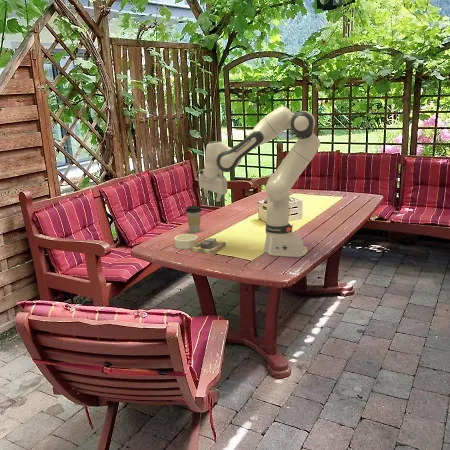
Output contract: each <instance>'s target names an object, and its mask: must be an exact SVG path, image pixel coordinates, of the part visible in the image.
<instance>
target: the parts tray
mask: <svg viewBox="0 0 450 450" xmlns="http://www.w3.org/2000/svg"><path fill="white" fill-rule="evenodd" d="M206 240H207V239H203V240H201V241H199V242H198V243H197V244H196V245H194V246H193V247H191V249H190V252H194V253H201V254H208V255H215V254H216V253H218V252H219V251H221V250H222V249H223V248H225V247H227V243H226V242H225V241H220V240H219V241H218V240H216V247H214V248H211V250H210V249H203V248H201V246H200V244H201V243H202V242H204V241H206Z"/></svg>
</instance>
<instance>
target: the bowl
mask: <svg viewBox="0 0 450 450" xmlns="http://www.w3.org/2000/svg"><path fill="white" fill-rule="evenodd" d="M197 243H199V242H198V235H196V234H195V233H182V234H177V235H175V236H174V248H176V249H178V250H191V247H193V246H194V245H196V244H197Z"/></svg>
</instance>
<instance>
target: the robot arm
mask: <svg viewBox="0 0 450 450" xmlns="http://www.w3.org/2000/svg"><path fill="white" fill-rule="evenodd" d="M315 127H316V119H315V117H314V115H313V114H312V113H311V112H309V111H306V110H301V111H298V112H294V113H293V111H291V109H290V108H288V107H286V106H280V107H278V108H276V109H274V110H272V111H271V112H270V113H268V114H266V115H265V116H264V117H262V119H261V120H260V121H259V122H257V124H256V125H255V126H254V128H253V129H252V130H251V132H249V134H248V135H247V136H246V137H245V138H243V140H241V141H240V142H239V143H238V144H236V145H235V146H234V147H230V146H229V145H226V144H225V143H224V142H223V141H221V140H214V141H210V142H208V143H207V144H206V148H205V155H204V156H205V158H204V160H205V165H204V168H203V169H200V170H198V174H199V175H198V186H199V188H201V189H203V192H204V197H205V198H207V199H208V198H210V194H209V192H212V193H216V196H217V197H215V202H216V203H217V202H218V203H219V202H221V198H222V196H223V195H226V194H228V181H227V178H226V177H225V175H223V173H231V172H232V171H234V170H235V169H236V167H239V165H240V164H241V162H242V159H243V158H244V157H245V156H246V155H247V154H249V153H250V152H251V151H252V150H253V149H256V148H258V147H260V146H261V145H264V144H266V143H268V142H270V141H272V140H274V139H275V138H277V137H278V136H279V135H281V134H282V133H283V132H285V131H286V130H289V129H291V130H292V131H293V133H294V134H295V135H296V137H297V139H296V142H295V144H294V145H293V146H292V147H291V148H290V150H289V152H288V153H287V154H286V156H285V157H284V159H283V160H282V161H281V163H280V164H279V165H278V167H277V168H276V169H275V171H274V173H273V174H272V175H270V176H269V178H268V180H267V181H266V185H265V192H266V195H267V196H266V223H265V234H266V235H265V242H264V247H263V251H264V252H265V253H267V254H268V255H269V256H275V257H291V258H301V257H303V256H305V255H307V254H308V251H309V249H308V247H307V246H304V240H303V239H302V237H300V235H298V234H296V233H295V231H293V227H294V225H293V224H292V225H291V224H290V223H289V217H290V216H289V213H290V211H289V210H290V209H289V208H290V207H289V206H290V205H289V203H290V202H289V201H290V190H291V189H292V188H293V186H294V185H295V184H296V182H297V180H298V179H299V177H300V176H301V175H302V173H303V172H304V170H306V168H307V166H308V165H309V164H310V162H311V161H312V160H313V159H314V158H315V156H316V154H317V152H318V151H319V148H320V146H321V140H320V138H319V137H318V136H317V135H316V134H315V133H314V129H315Z"/></svg>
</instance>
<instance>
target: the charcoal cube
mask: <svg viewBox="0 0 450 450" xmlns="http://www.w3.org/2000/svg"><path fill="white" fill-rule="evenodd" d="M200 246H201V248H203V249H210V250H211V242H206V241H204V242H202V243H201V244H200Z"/></svg>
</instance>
